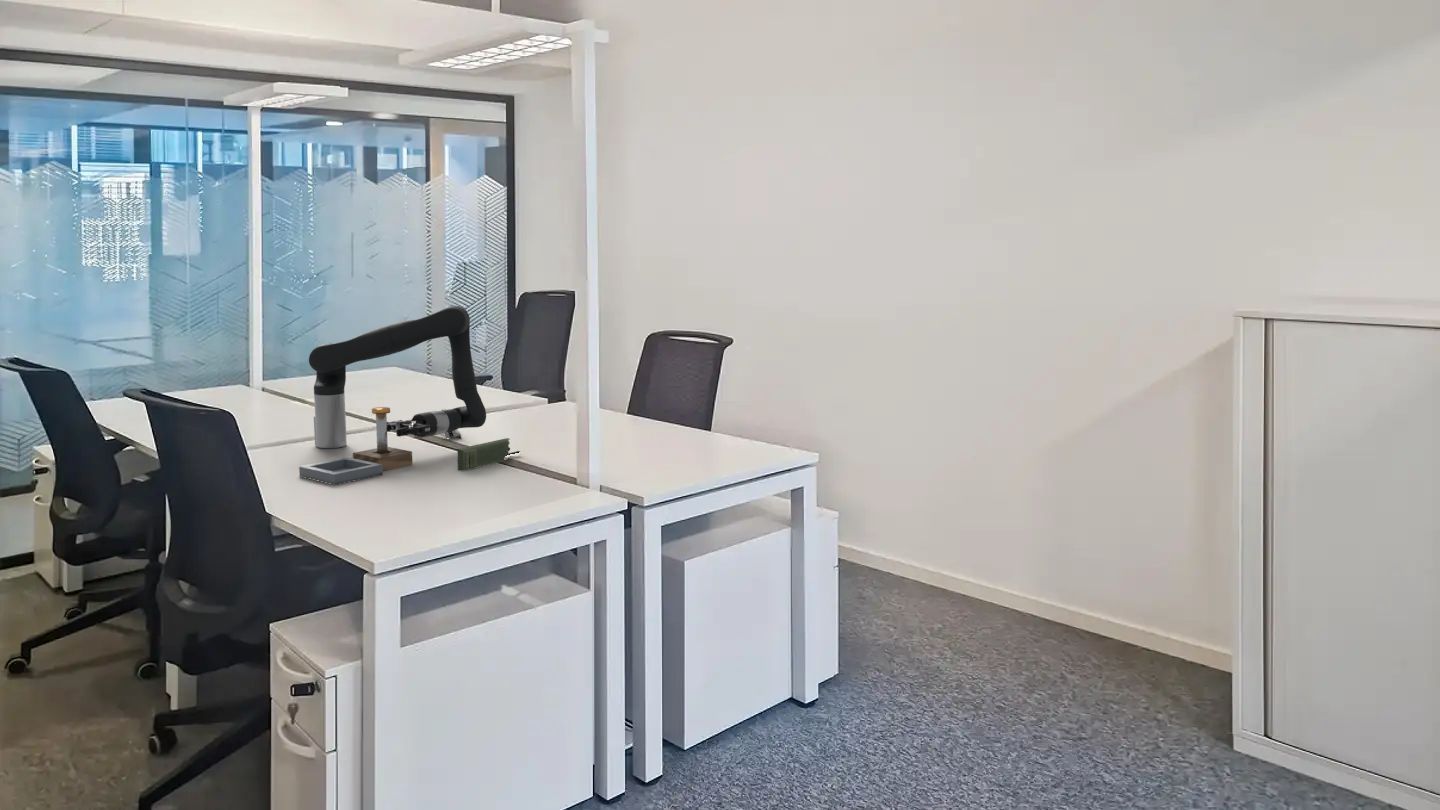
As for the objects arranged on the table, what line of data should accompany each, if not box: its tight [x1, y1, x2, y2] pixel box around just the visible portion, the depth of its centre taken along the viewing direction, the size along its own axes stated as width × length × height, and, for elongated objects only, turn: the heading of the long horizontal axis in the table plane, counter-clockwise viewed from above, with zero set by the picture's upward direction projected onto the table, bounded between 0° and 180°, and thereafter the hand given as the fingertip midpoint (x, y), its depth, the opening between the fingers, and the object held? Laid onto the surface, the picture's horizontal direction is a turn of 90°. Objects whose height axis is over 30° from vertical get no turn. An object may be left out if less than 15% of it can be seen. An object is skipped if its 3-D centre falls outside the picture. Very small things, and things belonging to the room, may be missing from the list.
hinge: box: [440, 408, 463, 439], centre depth 367 cm, size 17×5×10 cm, turn 20°
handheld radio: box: [457, 437, 521, 472], centre depth 325 cm, size 7×3×25 cm
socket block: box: [352, 446, 413, 472], centre depth 319 cm, size 12×12×4 cm
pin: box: [371, 406, 391, 454], centre depth 318 cm, size 5×5×17 cm
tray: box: [298, 456, 384, 485], centre depth 305 cm, size 16×16×3 cm
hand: (387, 431), depth 320 cm, fingers open, 8 cm apart
